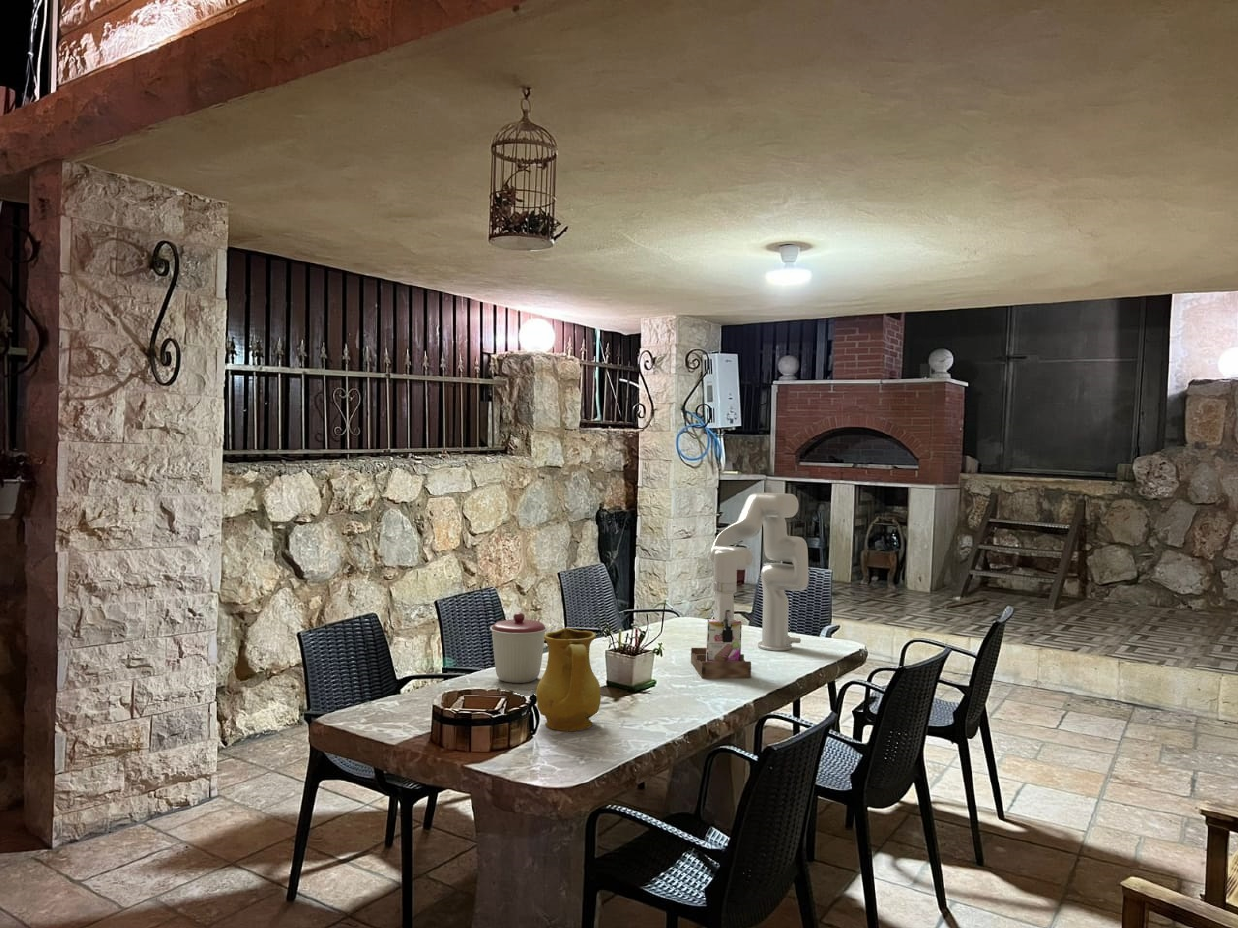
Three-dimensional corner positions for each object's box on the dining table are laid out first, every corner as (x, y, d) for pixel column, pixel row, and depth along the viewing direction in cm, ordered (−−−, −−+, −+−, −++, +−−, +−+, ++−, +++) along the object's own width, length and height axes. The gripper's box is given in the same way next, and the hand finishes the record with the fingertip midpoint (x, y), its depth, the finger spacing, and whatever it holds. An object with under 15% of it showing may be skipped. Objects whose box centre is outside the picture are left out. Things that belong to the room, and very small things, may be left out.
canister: (512, 669, 292) (513, 605, 291) (557, 677, 283) (558, 611, 282) (477, 681, 276) (478, 613, 276) (524, 690, 267) (525, 620, 267)
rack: (736, 662, 307) (736, 647, 307) (750, 678, 287) (751, 662, 286) (690, 662, 306) (691, 647, 306) (702, 678, 285) (702, 662, 285)
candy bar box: (706, 671, 289) (707, 621, 289) (705, 667, 294) (706, 618, 294) (740, 672, 288) (742, 622, 288) (739, 668, 293) (740, 619, 293)
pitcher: (608, 715, 242) (606, 625, 240) (591, 740, 223) (588, 643, 222) (548, 712, 245) (546, 623, 244) (526, 736, 227) (523, 640, 226)
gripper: (708, 582, 299) (708, 632, 300) (719, 591, 282) (718, 645, 283) (730, 582, 300) (729, 632, 300) (742, 591, 283) (741, 644, 283)
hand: (724, 638), depth 292 cm, fingers open, 9 cm apart
